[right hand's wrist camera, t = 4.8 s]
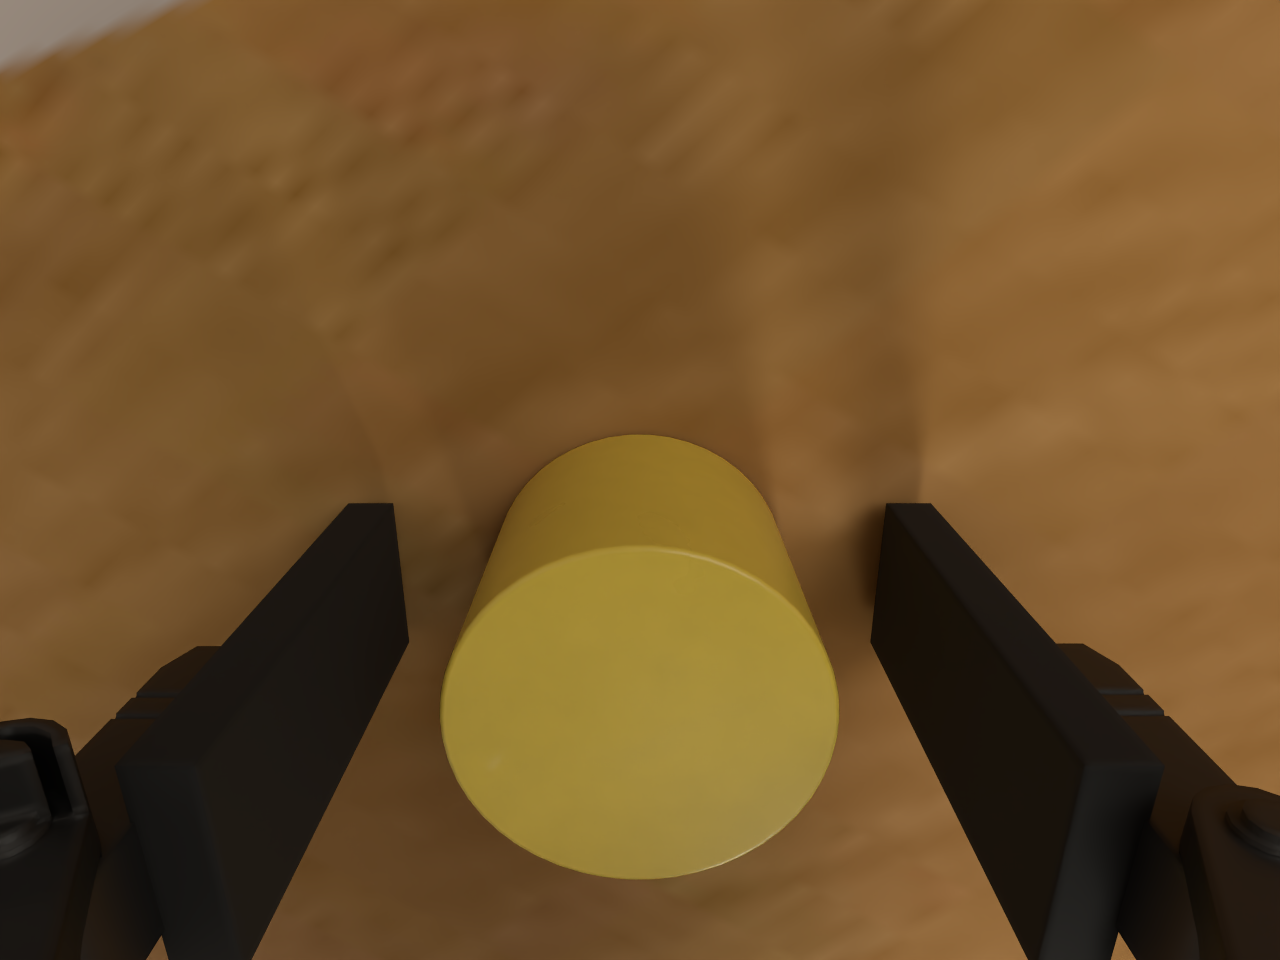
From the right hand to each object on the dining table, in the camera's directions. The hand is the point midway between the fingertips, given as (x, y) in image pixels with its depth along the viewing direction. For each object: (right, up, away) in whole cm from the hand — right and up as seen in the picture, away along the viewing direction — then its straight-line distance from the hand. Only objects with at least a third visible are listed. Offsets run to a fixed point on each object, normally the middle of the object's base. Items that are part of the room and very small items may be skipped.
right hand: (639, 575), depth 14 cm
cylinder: (0, 0, 0) cm, 0 cm away
